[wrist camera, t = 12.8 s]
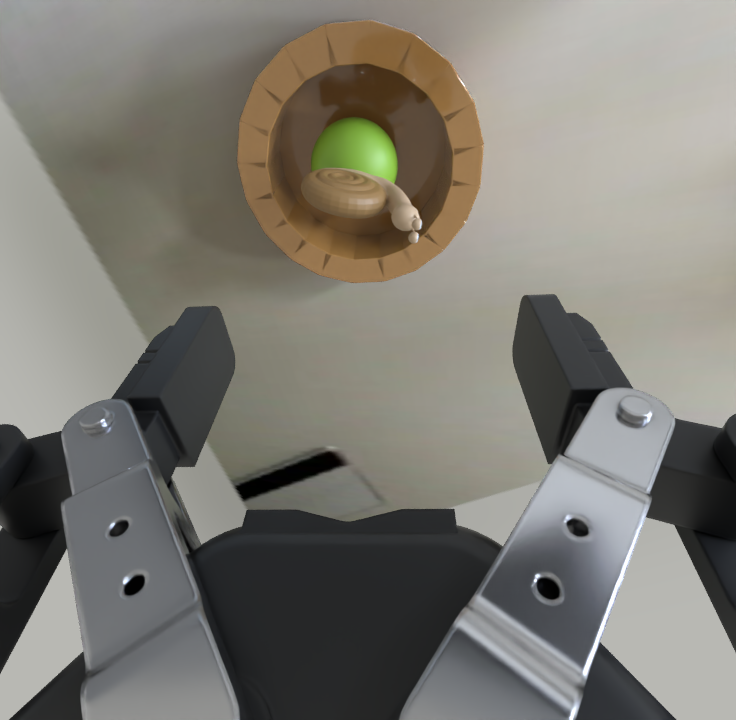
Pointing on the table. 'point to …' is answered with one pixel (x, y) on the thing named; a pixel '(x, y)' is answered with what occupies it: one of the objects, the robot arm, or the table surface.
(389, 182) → the snail figurine
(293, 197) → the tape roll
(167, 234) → the table surface
